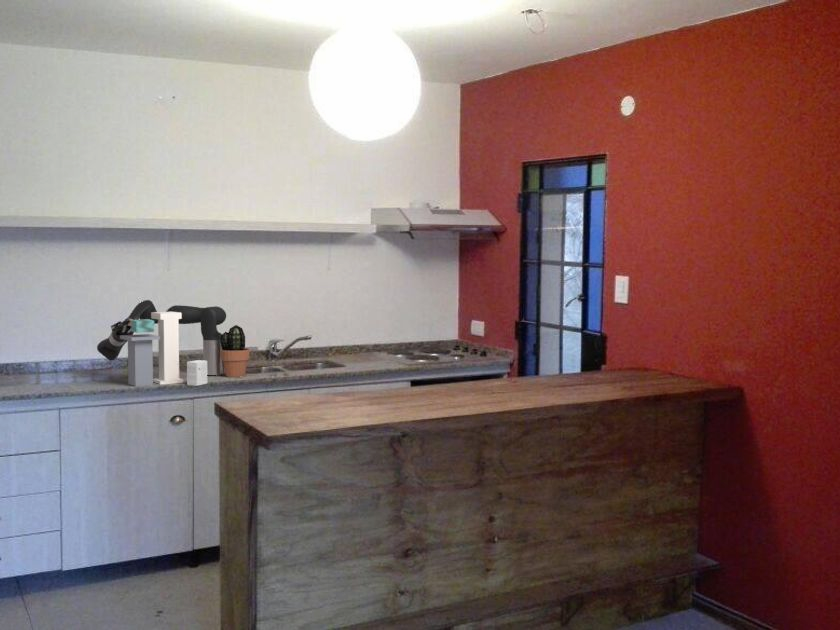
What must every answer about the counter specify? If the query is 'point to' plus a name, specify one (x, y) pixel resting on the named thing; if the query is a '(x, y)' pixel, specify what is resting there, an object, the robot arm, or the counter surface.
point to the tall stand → (168, 347)
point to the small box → (197, 372)
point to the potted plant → (234, 352)
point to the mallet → (141, 325)
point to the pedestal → (140, 359)
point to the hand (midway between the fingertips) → (132, 319)
